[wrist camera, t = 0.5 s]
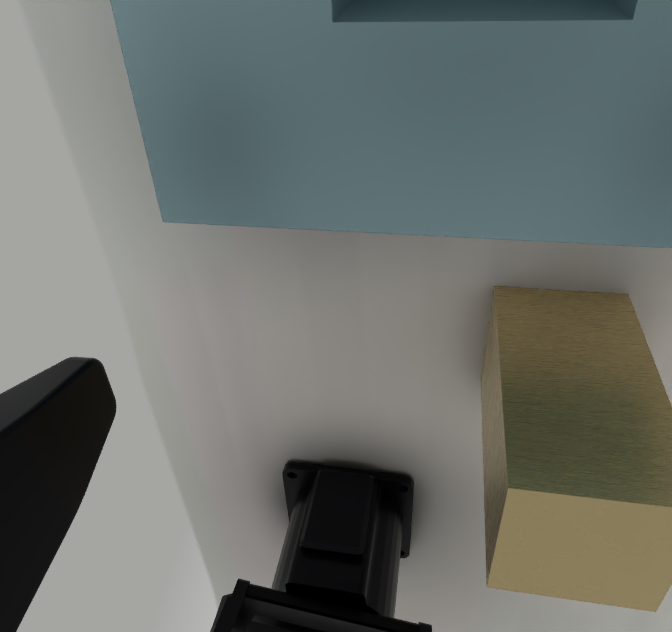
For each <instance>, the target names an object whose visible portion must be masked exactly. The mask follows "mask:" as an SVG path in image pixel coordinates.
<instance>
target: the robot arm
mask: <svg viewBox="0 0 672 632" xmlns="http://www.w3.org/2000/svg"><path fill="white" fill-rule="evenodd" d="M115 413H116V400H115V396H114V394H113V391H112V388H111V385H110V383H109V380H108V377H107V374H106V372H105V369H104V366H103V364H102V363H101V362H100V361H99V360H97V359H95V358H83V357H70V358H67V359H65V360H63V361H61V362H60V363H58V364H56V365H54V366H52V367H50V368H49V369H46V370H44V371H43V372H41V373H39V374H37V375H35V376H33V377H31V378H29V379H28V380H26V381H24V382H22V383H20V384H18V385H16V386H14V387H13V388H11V389H9V390H7V391H5V392H3V393H1V394H0V632H16V631H17V629H18V627H19V625H20V623H21V621H22V619H23V617H24V615H25V613H26V611H27V609H28V607H29V605H30V603H31V601H32V599H33V598H34V596H35V594H36V592H37V589H38V588H39V586H40V584H41V582H42V580H43V578H44V576H45V574H46V572H47V570H48V568H49V566H50V564H51V563H52V561H53V559H54V557H55V555H56V553H57V551H58V549H59V547H60V545H61V543H62V541H63V539H64V537H65V535H66V533H67V531H68V529H69V527H70V525H71V523H72V521H73V519H74V517H75V515H76V513H77V511H78V509H79V506H80V504H81V502H82V499H83V497H84V495H85V492H86V490H87V487H88V484H89V482H90V479H91V477H92V474H93V472H94V469H95V467H96V463H97V461H98V459H99V456H100V454H101V451H102V449H103V446H104V443H105V441H106V438H107V435H108V433H109V431H110V428H111V425H112V423H113V420H114V417H115ZM283 481H284V488H285V495H286V502H287V509H288V516H289V526H288V529H287V533H286V537H285V540H284V544H283V548H282V551H281V555H280V559H279V562H278V566H277V570H276V573H275V577H274V581H273V584H272V588H271V589H270V588H266V587H262V586H258V585H253V584H250V581H246V580H242V579H238V581H237V583H236V586H235V588H234V591H233V593H232V594H228V595H225V596H223V597H222V600H221V603H220V606H219V609H218V612H217V615H216V618H215V620H214V623H213V626H212V629H211V631H210V632H432V625H429V624H425V623H421V622H419V623H418V624H416V623H411V622H407V621H403V620H399V619H395V618H394V613H395V603H396V593H397V583H398V572H399V562H400V558H406V557H408V556H409V551H410V537H411V521H412V506H413V490H414V482H413V480H412V479H411V478H410V477H408V476H404V475H396V474H387V473H379V472H370V471H362V470H353V469H345V468H336V467H328V466H319V465H311V464H302V463H294V462H290V463H287V464H286V465H285V467H284V470H283Z"/></svg>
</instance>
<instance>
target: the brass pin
mask: <svg viewBox="0 0 672 632" xmlns="http://www.w3.org/2000/svg"><path fill="white" fill-rule="evenodd" d="M481 401H482V436H483V472H484V508H485V543H486V579H487V587H489V588H495V589H502V590H509V591H516V592H523V593H530V594H537V595H543V596H550V597H557V598H564V599H571V600H578V601H584V602H591V603H598V604H605V605H612V606H619V607H625V608H632V609H639V610H646V611H653V612H656V611H657V609H658V607H659V606H660V604H661V602H662V600H663V599H664V597H665V595H666V593H667V592H668V590H669V588H670V586H671V585H672V406H671V403H670V401H669V398H668V396H667V393H666V391H665V388H664V385H663V383H662V380H661V378H660V375H659V372H658V370H657V367H656V365H655V362H654V359H653V357H652V354H651V352H650V349H649V347H648V344H647V341H646V339H645V336H644V334H643V331H642V328H641V326H640V323H639V321H638V318H637V315H636V313H635V310H634V308H633V305H632V303H631V300H630V297H629V295H628V294H612V293H597V292H581V291H566V290H550V289H534V288H519V287H503V286H494V293H493V300H492V307H491V313H490V320H489V327H488V334H487V341H486V347H485V354H484V361H483V368H482V375H481Z"/></svg>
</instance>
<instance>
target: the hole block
mask: <svg viewBox="0 0 672 632" xmlns="http://www.w3.org/2000/svg"><path fill="white" fill-rule="evenodd" d="M110 2H111V6H112V11H113V15H114V19H115V23H116V27H117V32H118V36H119V40H120V44H121V48H122V53H123V57H124V61H125V65H126V69H127V74H128V78H129V82H130V86H131V90H132V95H133V99H134V103H135V107H136V111H137V115H138V120H139V124H140V128H141V132H142V136H143V141H144V145H145V149H146V153H147V157H148V162H149V166H150V170H151V174H152V178H153V183H154V187H155V191H156V195H157V199H158V204H159V208H160V212H161V216H162V220H163V222H170V223H189V224H209V225H229V226H248V227H268V228H288V229H307V230H327V231H346V232H366V233H386V234H405V235H425V236H445V237H464V238H484V239H504V240H523V241H543V242H562V243H582V244H602V245H621V246H641V247H661V248H672V0H110Z"/></svg>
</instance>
